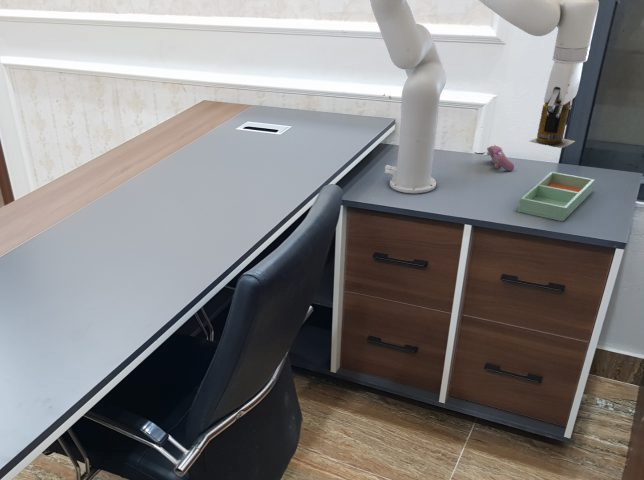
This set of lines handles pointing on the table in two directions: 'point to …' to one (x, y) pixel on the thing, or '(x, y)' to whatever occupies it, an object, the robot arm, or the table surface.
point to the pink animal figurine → (499, 158)
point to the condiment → (553, 138)
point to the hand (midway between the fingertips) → (555, 127)
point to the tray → (556, 196)
